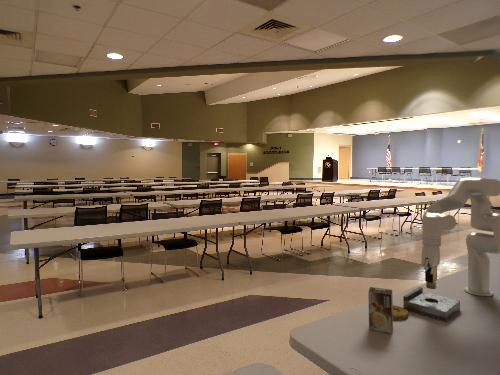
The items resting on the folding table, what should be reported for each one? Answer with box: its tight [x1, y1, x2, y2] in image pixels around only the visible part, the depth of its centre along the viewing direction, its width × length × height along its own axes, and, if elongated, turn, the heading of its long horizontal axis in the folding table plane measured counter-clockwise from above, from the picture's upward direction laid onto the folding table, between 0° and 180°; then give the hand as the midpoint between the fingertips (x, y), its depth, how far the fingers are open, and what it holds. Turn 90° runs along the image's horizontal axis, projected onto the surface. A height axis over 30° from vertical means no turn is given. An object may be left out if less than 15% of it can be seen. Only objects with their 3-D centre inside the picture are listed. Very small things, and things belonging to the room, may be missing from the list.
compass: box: [393, 304, 409, 321], centre depth 151 cm, size 12×12×2 cm
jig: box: [402, 286, 461, 323], centre depth 154 cm, size 18×18×6 cm
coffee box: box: [367, 286, 394, 334], centre depth 137 cm, size 9×6×16 cm
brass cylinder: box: [425, 265, 437, 290], centre depth 154 cm, size 4×4×10 cm
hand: (431, 280), depth 154 cm, fingers closed on brass cylinder, 4 cm apart
